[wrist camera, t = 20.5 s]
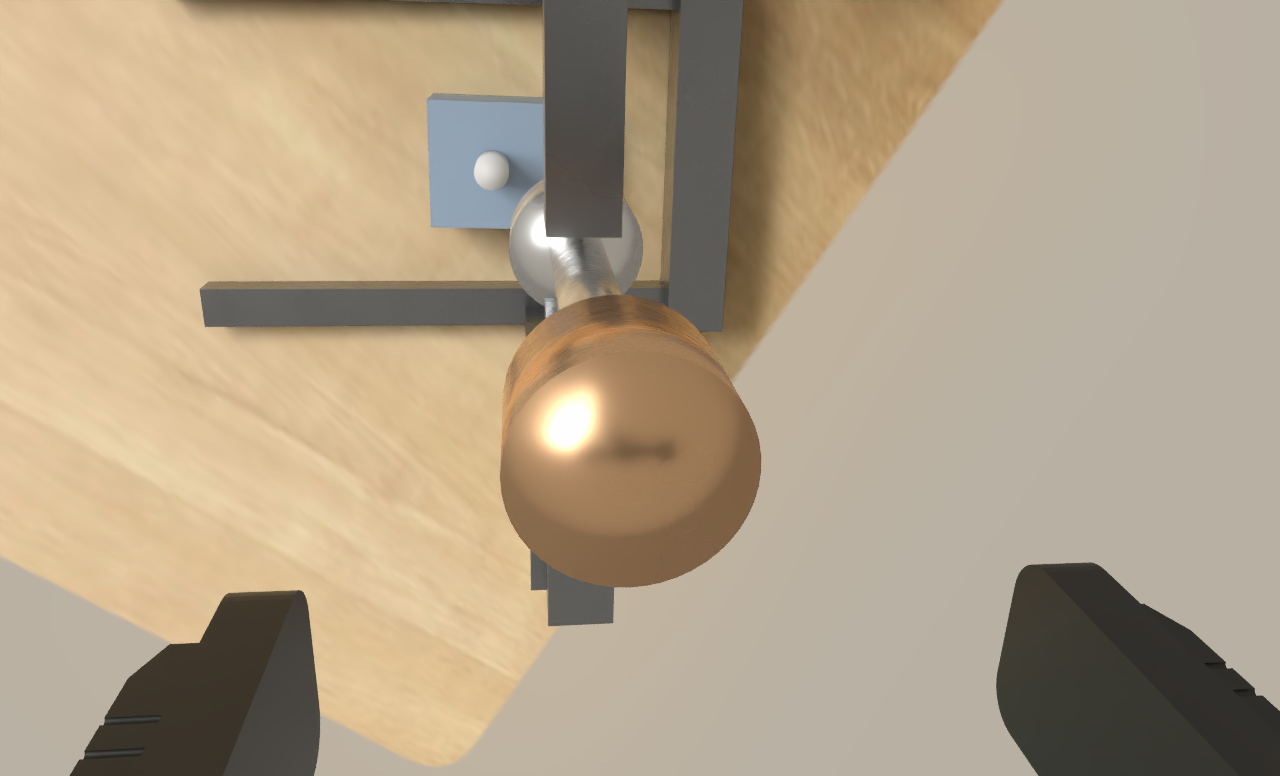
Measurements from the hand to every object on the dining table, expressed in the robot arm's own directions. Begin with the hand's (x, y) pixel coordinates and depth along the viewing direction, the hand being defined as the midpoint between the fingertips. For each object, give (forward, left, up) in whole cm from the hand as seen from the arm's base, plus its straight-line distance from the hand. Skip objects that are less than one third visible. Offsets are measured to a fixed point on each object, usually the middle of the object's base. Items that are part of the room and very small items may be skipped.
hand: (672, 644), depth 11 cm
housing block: (0, -3, -42) cm, 42 cm away
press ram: (0, 0, -21) cm, 21 cm away
